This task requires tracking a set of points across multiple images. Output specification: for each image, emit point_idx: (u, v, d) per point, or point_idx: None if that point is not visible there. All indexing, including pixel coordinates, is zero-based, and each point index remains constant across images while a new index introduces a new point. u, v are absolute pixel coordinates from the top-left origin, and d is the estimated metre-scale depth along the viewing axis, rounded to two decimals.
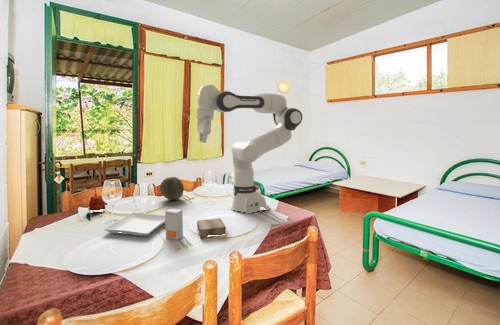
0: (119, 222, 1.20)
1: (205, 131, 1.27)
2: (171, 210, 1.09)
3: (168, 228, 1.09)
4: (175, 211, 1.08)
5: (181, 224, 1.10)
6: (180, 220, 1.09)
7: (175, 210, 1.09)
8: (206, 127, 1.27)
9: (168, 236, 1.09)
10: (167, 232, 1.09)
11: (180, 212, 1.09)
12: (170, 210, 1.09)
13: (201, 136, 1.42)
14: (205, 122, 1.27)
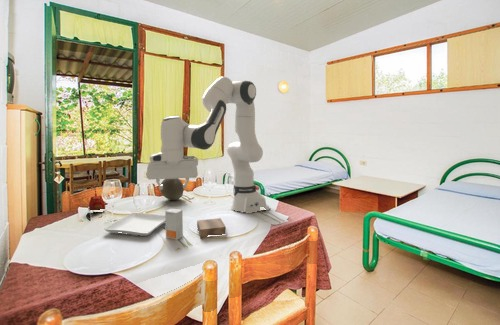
0: (119, 222, 1.20)
1: None
2: (171, 210, 1.09)
3: (168, 228, 1.09)
4: (175, 211, 1.08)
5: (181, 224, 1.10)
6: (180, 220, 1.09)
7: (175, 210, 1.09)
8: None
9: (168, 236, 1.09)
10: (167, 232, 1.09)
11: (180, 212, 1.09)
12: (170, 210, 1.09)
13: None
14: (196, 164, 1.08)
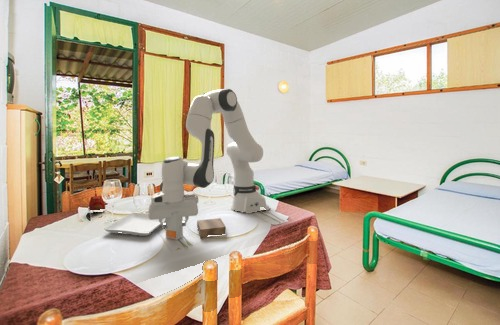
0: (119, 222, 1.20)
1: (197, 212, 1.12)
2: None
3: (168, 228, 1.09)
4: None
5: (181, 224, 1.10)
6: (180, 220, 1.09)
7: None
8: None
9: (168, 236, 1.09)
10: (167, 232, 1.09)
11: None
12: None
13: None
14: None
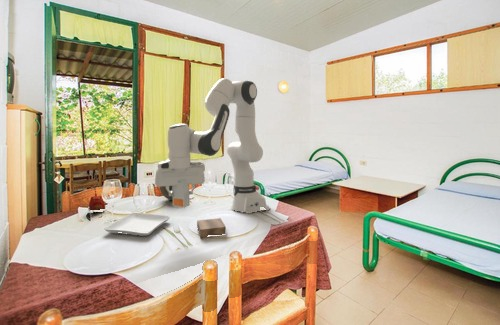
0: (119, 222, 1.20)
1: (204, 180, 1.11)
2: None
3: (175, 197, 1.08)
4: None
5: (188, 192, 1.09)
6: (187, 188, 1.09)
7: None
8: None
9: (175, 204, 1.09)
10: (174, 200, 1.09)
11: None
12: None
13: (168, 189, 1.08)
14: (202, 170, 1.10)
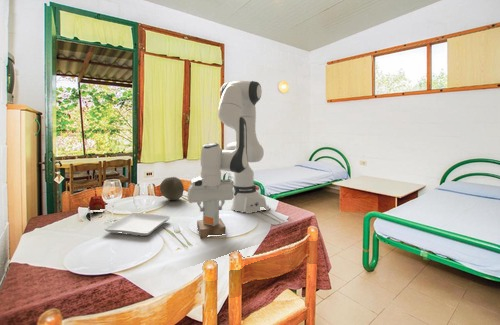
0: (119, 222, 1.21)
1: None
2: None
3: (206, 215, 1.14)
4: None
5: (218, 211, 1.15)
6: (217, 207, 1.14)
7: None
8: None
9: (205, 222, 1.15)
10: (204, 218, 1.15)
11: (217, 200, 1.14)
12: None
13: None
14: (232, 187, 1.16)
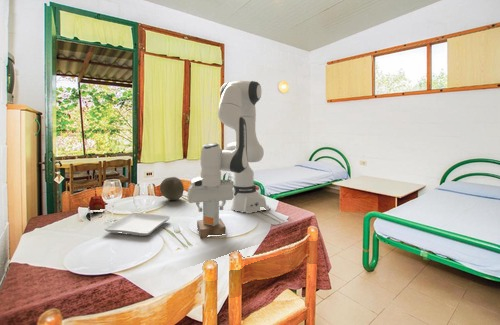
0: (119, 222, 1.21)
1: None
2: None
3: (206, 215, 1.14)
4: None
5: (218, 211, 1.15)
6: (217, 207, 1.14)
7: None
8: None
9: (205, 222, 1.15)
10: (204, 218, 1.15)
11: (217, 200, 1.14)
12: None
13: (198, 205, 1.13)
14: (232, 187, 1.16)
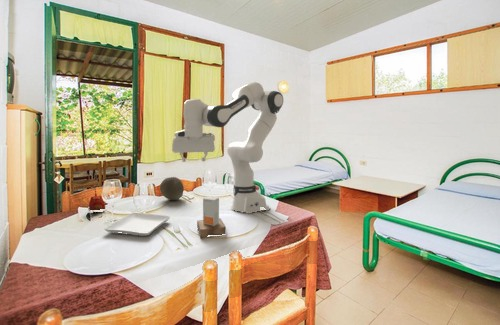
0: (119, 222, 1.21)
1: None
2: (208, 198, 1.14)
3: (206, 215, 1.14)
4: (213, 198, 1.13)
5: (218, 211, 1.15)
6: (217, 207, 1.14)
7: (212, 198, 1.14)
8: (213, 144, 1.28)
9: (205, 222, 1.15)
10: (204, 218, 1.15)
11: (217, 200, 1.14)
12: (207, 197, 1.14)
13: (182, 156, 1.24)
14: (213, 140, 1.27)
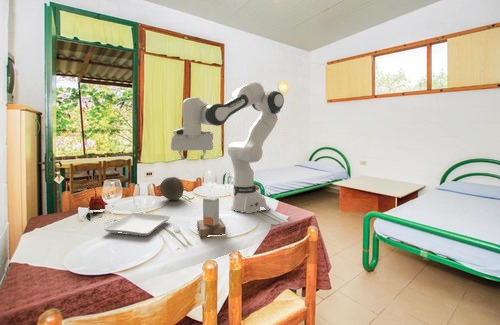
0: (119, 222, 1.21)
1: (212, 147, 1.29)
2: (208, 198, 1.14)
3: (206, 215, 1.14)
4: (213, 198, 1.13)
5: (218, 211, 1.15)
6: (217, 207, 1.14)
7: (212, 198, 1.14)
8: None
9: (205, 222, 1.15)
10: (204, 218, 1.15)
11: (217, 200, 1.14)
12: (207, 197, 1.14)
13: (181, 154, 1.25)
14: (211, 138, 1.28)
